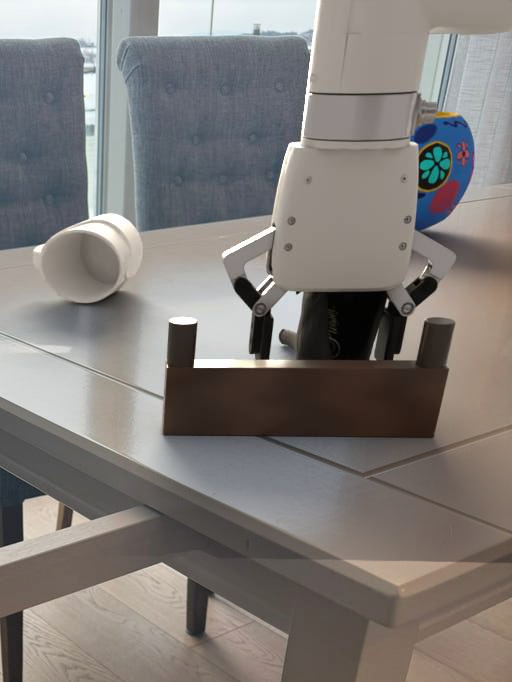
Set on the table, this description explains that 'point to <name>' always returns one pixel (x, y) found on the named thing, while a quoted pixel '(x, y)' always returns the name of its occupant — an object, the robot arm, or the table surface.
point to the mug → (90, 258)
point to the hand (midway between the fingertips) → (321, 362)
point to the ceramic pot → (442, 166)
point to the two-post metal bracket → (304, 391)
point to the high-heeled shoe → (336, 325)
